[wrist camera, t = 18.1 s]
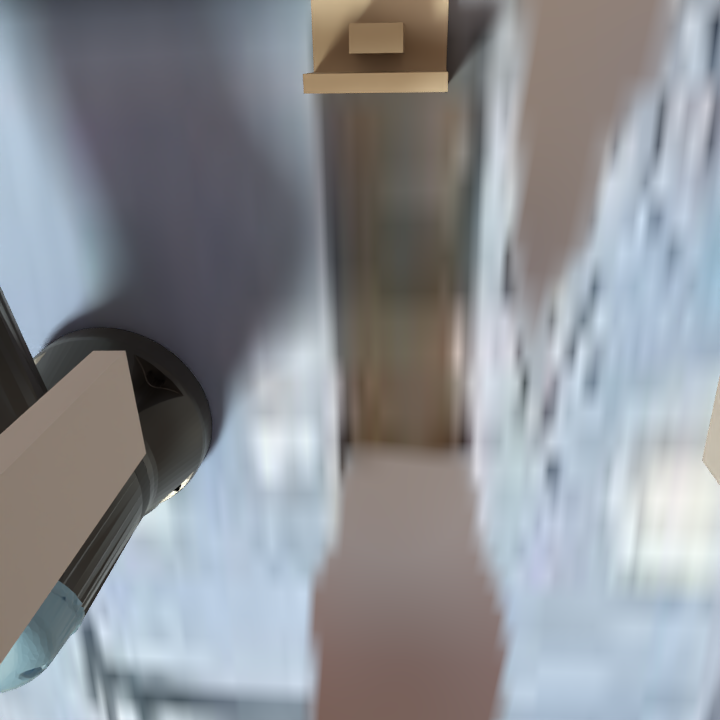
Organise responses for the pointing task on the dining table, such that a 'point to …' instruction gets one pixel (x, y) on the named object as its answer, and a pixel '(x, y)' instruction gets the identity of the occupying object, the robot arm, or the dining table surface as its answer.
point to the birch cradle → (378, 46)
